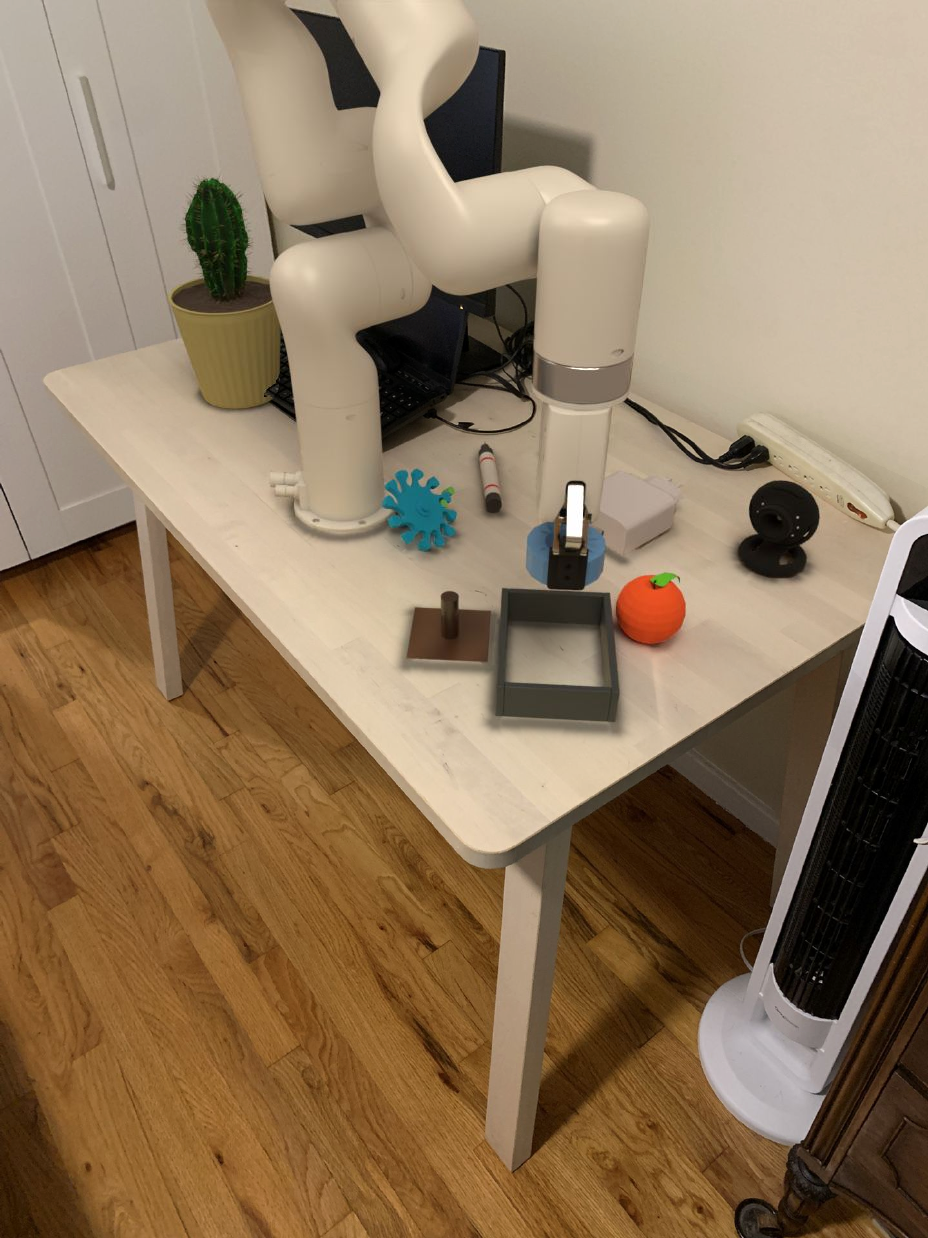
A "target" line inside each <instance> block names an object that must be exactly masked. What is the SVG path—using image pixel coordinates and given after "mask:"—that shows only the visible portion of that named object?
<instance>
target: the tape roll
mask: <svg viewBox="0 0 928 1238" xmlns="http://www.w3.org/2000/svg"><path fill="white" fill-rule="evenodd" d="M565 531H566V524H561V533H560V539H561V537H562V536H565ZM553 534H554V521H553V522H545V523H543V522H541V523H540V524H539V525H536V526H535V527H533V528H532V529H531V530H530V532H529V533H528V534H527V536H526V550H525V551H526V552H525V570H526V571H527V572H528V574H529V576H530V577H531V578H533V579H534V580H535V581H537V582H539V583H540V584H542V585H544V586H547V574H548V561H549V547H553ZM587 549H588V551H589V553H588V562H587V572H586V581H585V587H587V586H589V585H591V584H593V583H594V582H596V581H597V580H599V578H600V577H601V575H602V574H603V572H604V568H605V567H604V566H605V557H606V549H607V546H606V544H605V538H604V537H603V536H602V535H601V533H600V532H599V531H598V530H596V529H595V528H593V527H591V526H589V525H588V541H587Z"/></svg>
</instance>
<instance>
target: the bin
mask: <svg viewBox="0 0 928 1238" xmlns="http://www.w3.org/2000/svg"><path fill="white" fill-rule="evenodd" d="M500 596H501V597H500V598H501V600H500V614H499V615H500V618H499V635H498V636H499V637H498V655H497V656H498V657H497V676H496V697H495V717H507V718H523V719H524V718H526V719H544V720H545V719H546V720H564V721H565V720H566V721H586V722H603V723H607V722H608V723H615V722H616V719H617V711H618V705H619V699H620V694H621V693H620V691H621V690H620V682H619V681H620V680H619V672H618V661H617V660H618V659H617V650H616V641H615V631H614V621H613V620H614V619H613V608H612V600H611V593H610V592H602V591H601V592H599V591H582V590H581V591H578V590H553V589H533V588H514V587H513V588H512V587H510V588H508V587H502V588H501V595H500ZM508 622H523V623H524V622H525V623H543V624H544V623H546V624H547V623H548V624H568V625H587V626H599V634H600V636H599V637H600V646H601V647H600V648H601V649H600V650H601V659H602V673H603V685H604V686H594V685H574V684H556V683H555V684H551V683H535V682H534V683H533V682H530V683H529V682H517V681H516V682H515V681H514V682H512V681H506V662H507V638H508Z"/></svg>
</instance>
